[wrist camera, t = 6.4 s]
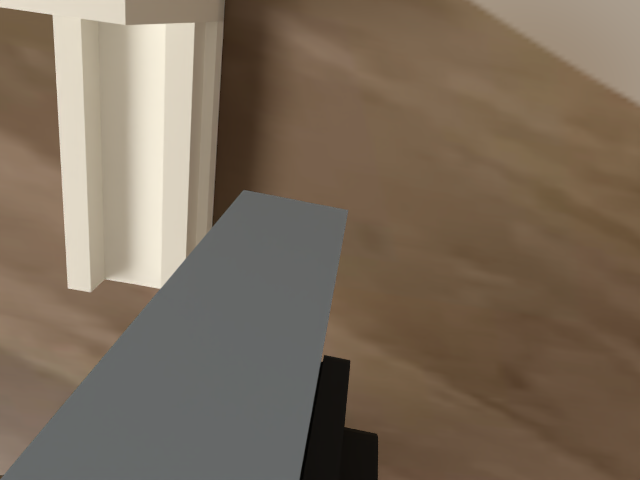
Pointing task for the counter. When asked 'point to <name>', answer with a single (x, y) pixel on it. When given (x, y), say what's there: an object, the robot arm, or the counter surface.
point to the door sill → (135, 132)
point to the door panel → (210, 360)
